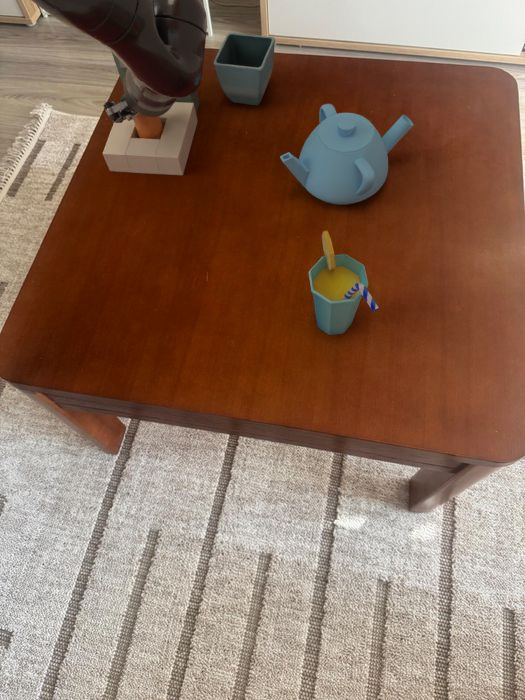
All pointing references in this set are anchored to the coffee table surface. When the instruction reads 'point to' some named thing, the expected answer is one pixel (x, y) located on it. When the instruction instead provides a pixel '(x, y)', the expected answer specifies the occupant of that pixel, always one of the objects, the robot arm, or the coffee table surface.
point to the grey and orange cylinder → (148, 127)
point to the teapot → (345, 157)
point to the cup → (337, 289)
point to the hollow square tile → (153, 144)
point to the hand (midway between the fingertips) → (140, 108)
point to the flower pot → (245, 66)
